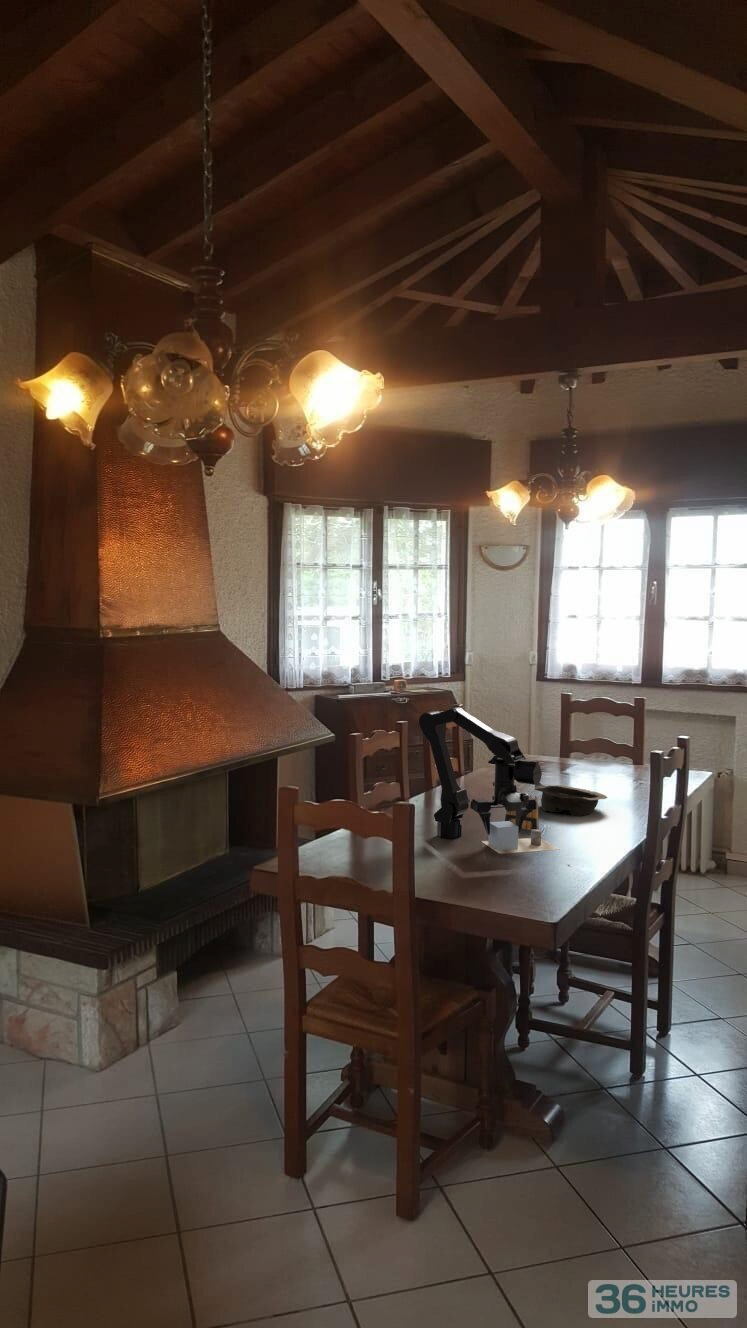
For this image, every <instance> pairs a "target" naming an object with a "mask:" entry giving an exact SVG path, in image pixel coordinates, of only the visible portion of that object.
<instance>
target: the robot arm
mask: <svg viewBox="0 0 747 1328" xmlns="http://www.w3.org/2000/svg"><path fill="white" fill-rule="evenodd" d="M450 723H454V724H455V725H457V726H458V727H460V728H462V729H463V730H464V731H466V732H468V733H469V734H471V735H472V736H474V737H475V738H477V739H479V741H481V742H483V743H484V745H486V748H487V749H488V750H489V752H490V753H492V754H493V756H492V758H491V759H490V760H488V761H487V763H488V764H490V765H494V781H493V782H492V786H493V787H494V791H493V795H492V796H491V798H492V801H489V800H487V799H486V798H483V797H482V798H472V799H471V801H470V799H469V796H468V793H467V792H468V791H467V789H466V788H464V789H462V788H461V787H460V786H459V785H458V781H457V778H456V774H455V771H454V766H453V763H452V758H451V756H450V753H449V752H450V751H449V747H448V744H447V741H446V736H447V728H448V727H447V724H450ZM418 726H419V728H420V729H419V730H420V731H421V732H422V735H423V737H424V738H425V739H426V740H427V741H428V742H429V745H430V750H431V752H432V757H433V760H434V761H433V762H434V764H435V768H436V771H437V775H438V779H439V783H440V786H441V787H440V788H441V792H440V798H439V799H440V808H439V809H438V810H437V811H436V812H435V813H434V814H433V818H434V821H435V822H436V823H437V826H436V827H437V829H436V836H437V837H438V838H439V839H444V840H445V839H446V840H447V839H448V840H452V839H453V840H454V839H457V838H462V835H463V833H462V831H463V830H462V829H463V827H462V824H461V819H463V817H464V815H465V813H466V812H467V811H468V809H469V806H470V809H471V810H473V811H474V812H475V813H477V814H479V817H480V819H481V821H482V824H483V826H484V830H485V832H486V835H487V836H489V835H490V822H491V815H492V813H491V812H490V811H491V809H496V808H497V809H501V808H505V812H506V811H508V812H512V811H516V825H517V826H518V834H519V833H520V831H521V830H522V828H521V826H522V824H523V821H524V819H525V817H526V816H527V815H528V814H529V813H531V812H533V810H536V809H537V802H536V800H535V798H531V797H532V796H531V797H530V794H528V793H527V792H521V793H518V790H517V789H518V788H517V785H516V784H515V782H517V783H519V784H526V785H527V784H528V785H534V786H535V785H538V784H539V783H541V780H542V776H543V775H542V773H543V772H542V769H541V766H540V765H539V764H540V763H539V762H540V761H539V760H535V759H534V760H529V759H526V756H525V755H524V753H523V752H522V750H521V749H520V747H519V741H518V740H517V739H516V738H515V737H513V736H511V735H509V734H507V733H504V732H500V731H498V730H495V729H492V728H491V727H489V726H488V725H486V724H485V723H483V722H482V721H480V720H479V719H478V718H476V717H475V716H473V715H471V714H470V713H468V712H466V711H465V710H464V709H463V708H462V707H459V706H458V707H457V706H456V707H452V708H449V709H446V710H444V711H439V710H434V711H433V710H432V711H428V712H423V713H422V714H421V715H420V716H419V719H418ZM469 802H470V805H469Z"/></svg>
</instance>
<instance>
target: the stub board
mask: <svg viewBox="0 0 747 1328" xmlns="http://www.w3.org/2000/svg"><path fill="white" fill-rule="evenodd" d="M481 842H482V843H483V844H485V845H486V846H487V847H489V848H491V849H492V850H493V851H495V852H496V853H498V854H499V855H500V854H514V853H515V854H516V853H528V852H530V853H531V852H543V851H557V850H559V851H560V850H561V849H560V848H559V847H557V846H555V845H554V844H552V843H550V842H548V841H547V840H545V839H543V838H542V830H540V829H539V830H537V829H533V830H530V837H527V838H518V849H507V850H496V849H495V848H493V847H492V846H490V845H489V844H488V840H481Z"/></svg>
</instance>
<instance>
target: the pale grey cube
mask: <svg viewBox="0 0 747 1328" xmlns="http://www.w3.org/2000/svg"><path fill="white" fill-rule="evenodd" d="M518 839H519V833H518V826H517V825H515V824H513V823H512V822H510V821H505V820H502V821H490V835H488V840H487V841H488V844H489V845H490V846H492V847H493V848H495V849H496V850H507V849H518Z"/></svg>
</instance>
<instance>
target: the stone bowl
mask: <svg viewBox="0 0 747 1328" xmlns="http://www.w3.org/2000/svg"><path fill="white" fill-rule="evenodd" d="M533 790H535V791H538V792H542V793H541V798H540V803H541V808H542V810H544V811H545V812H548V811H550V813H561V812H562V811H569V813H570V814H571V815H573V816H574V815H577V817H582V816H585V815H586V816H589V815H590V814H592V813H593V812H594V810H595V809H596V807H597V805H598V803H599V800H606V799H608V798H609V797H608V796H607V795H605V794H603V793H600V792H597V791H594V790H593V791H591V790H589V789H583V788H578V787H573V786H569V785H568V786H567V785H560V784H558V785H556V784H555V785H553V784H552V785H551V784H550V785H549V784H548V785H544V784H542V783H541V782H540V783H539V784H538V785H534V788H533Z"/></svg>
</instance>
